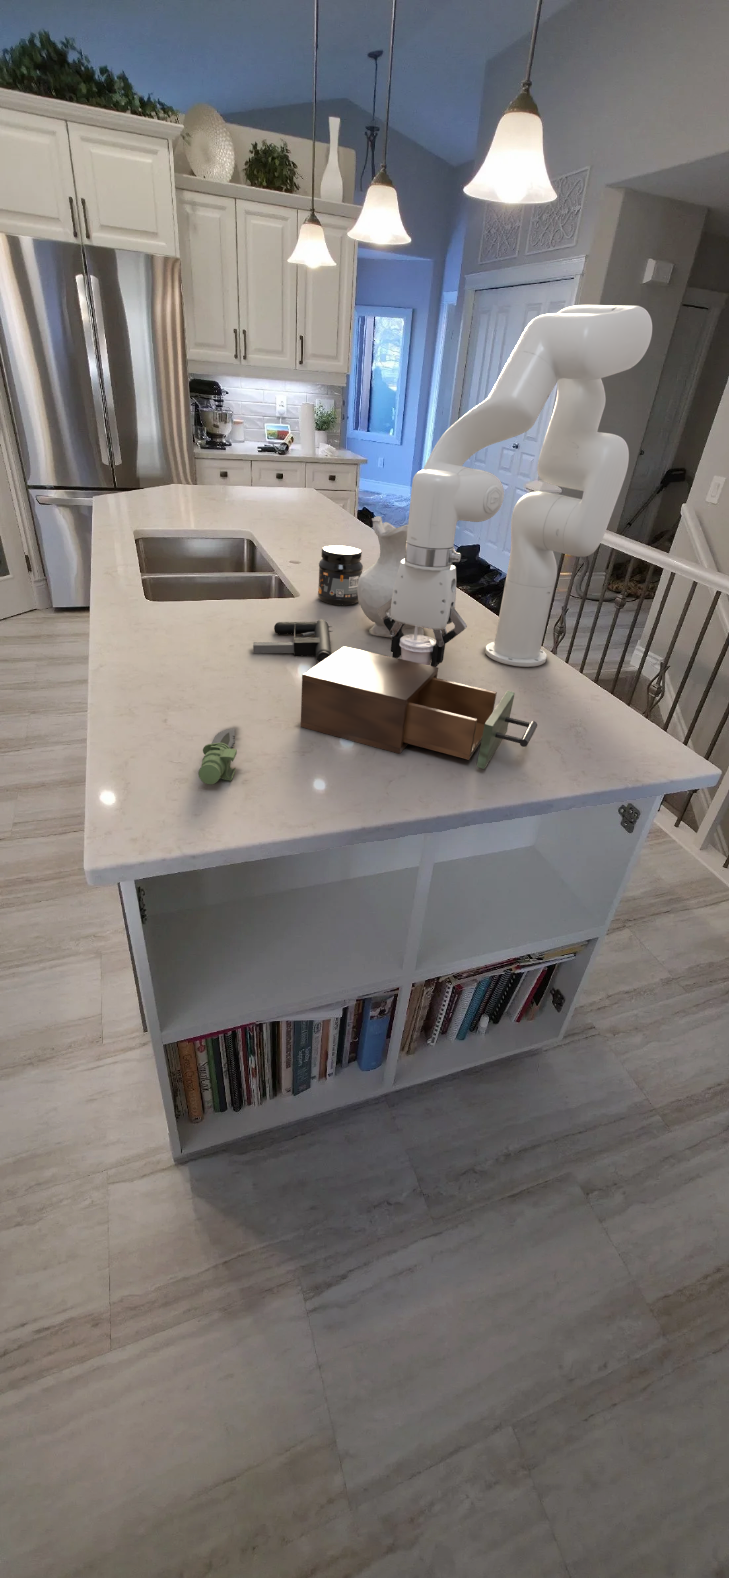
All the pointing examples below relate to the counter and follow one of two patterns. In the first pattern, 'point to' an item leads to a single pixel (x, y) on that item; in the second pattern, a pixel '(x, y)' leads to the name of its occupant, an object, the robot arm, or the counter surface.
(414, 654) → the smoothie
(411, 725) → the drawer
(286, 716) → the counter surface
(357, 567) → the supplement container
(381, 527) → the ceramic pitcher
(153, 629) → the counter surface
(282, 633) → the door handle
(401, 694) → the cabinet
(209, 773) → the knife
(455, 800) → the counter surface
